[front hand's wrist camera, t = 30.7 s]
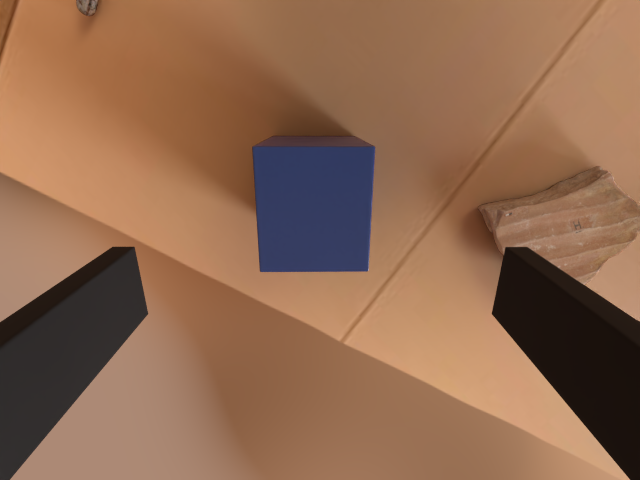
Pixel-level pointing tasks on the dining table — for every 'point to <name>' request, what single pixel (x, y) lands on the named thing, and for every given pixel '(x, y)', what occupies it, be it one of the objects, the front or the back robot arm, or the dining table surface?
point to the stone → (569, 222)
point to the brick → (313, 203)
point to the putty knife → (87, 6)
